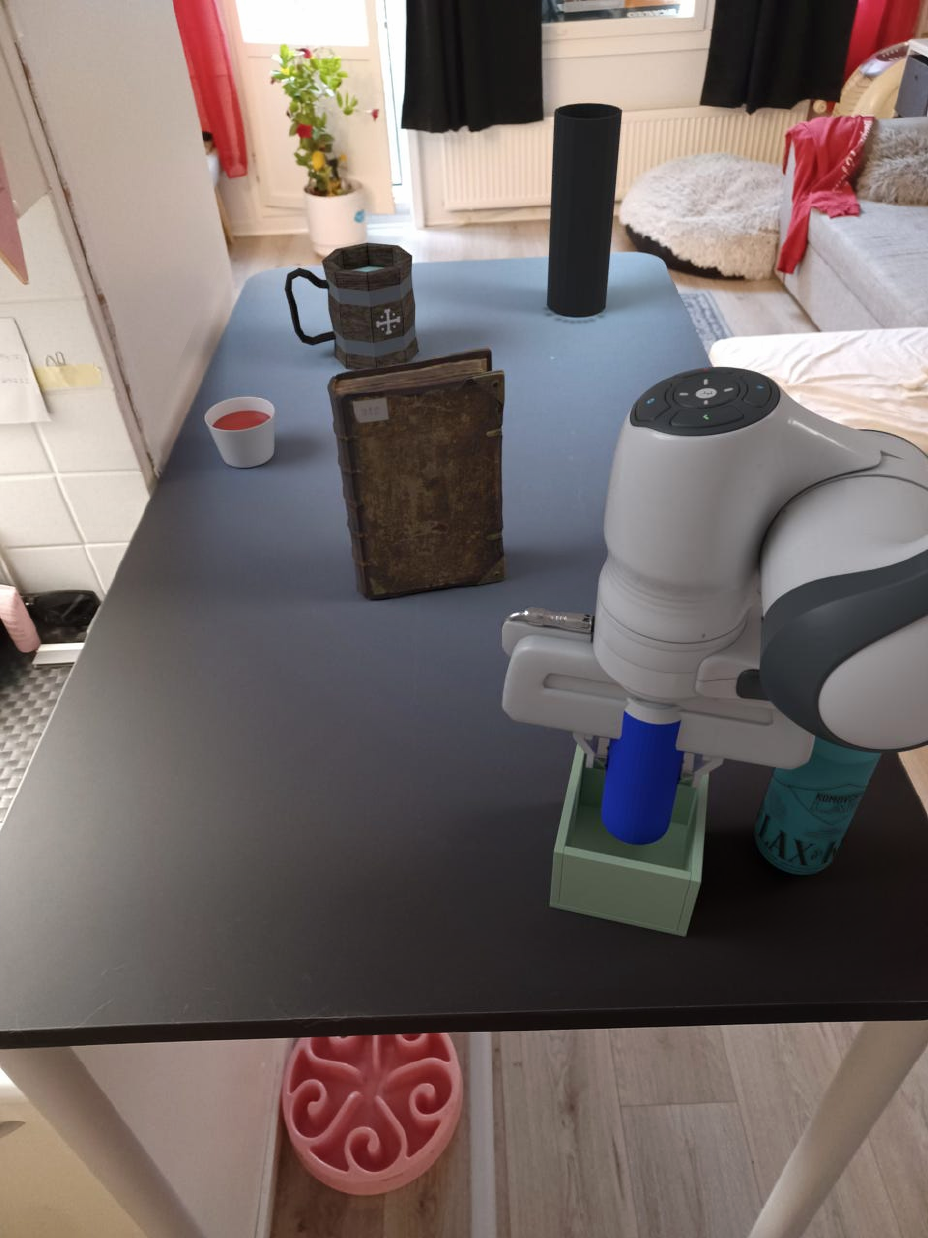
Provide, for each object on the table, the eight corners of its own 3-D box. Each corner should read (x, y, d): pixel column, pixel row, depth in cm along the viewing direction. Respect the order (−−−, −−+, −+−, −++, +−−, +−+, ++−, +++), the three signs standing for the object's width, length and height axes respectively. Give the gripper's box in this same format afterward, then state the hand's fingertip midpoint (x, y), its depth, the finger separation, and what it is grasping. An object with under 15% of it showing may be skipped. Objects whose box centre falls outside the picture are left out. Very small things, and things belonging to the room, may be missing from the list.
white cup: (201, 464, 118) (190, 422, 114) (241, 433, 124) (232, 391, 120) (257, 479, 115) (248, 436, 111) (295, 445, 121) (287, 404, 117)
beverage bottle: (732, 834, 73) (785, 662, 60) (799, 809, 75) (866, 637, 62) (779, 900, 69) (848, 730, 55) (850, 872, 70) (933, 701, 57)
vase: (577, 322, 149) (589, 122, 129) (534, 305, 154) (540, 111, 134) (618, 305, 153) (636, 110, 133) (575, 288, 159) (587, 99, 139)
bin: (695, 824, 74) (709, 767, 69) (685, 937, 67) (701, 882, 62) (571, 800, 76) (577, 743, 71) (549, 907, 69) (553, 851, 64)
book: (356, 603, 96) (327, 393, 80) (352, 563, 102) (324, 359, 85) (507, 585, 98) (509, 376, 81) (496, 547, 103) (495, 343, 87)
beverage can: (679, 811, 68) (709, 674, 58) (652, 861, 65) (679, 725, 55) (617, 783, 70) (636, 646, 60) (588, 830, 67) (603, 694, 57)
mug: (416, 332, 147) (410, 239, 137) (420, 369, 137) (414, 272, 127) (298, 339, 146) (283, 246, 136) (293, 377, 136) (277, 280, 126)
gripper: (489, 637, 54) (491, 778, 63) (842, 692, 50) (789, 835, 59) (512, 573, 59) (510, 713, 68) (837, 619, 54) (789, 762, 64)
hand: (643, 770), depth 63 cm, fingers closed on beverage can, 5 cm apart
